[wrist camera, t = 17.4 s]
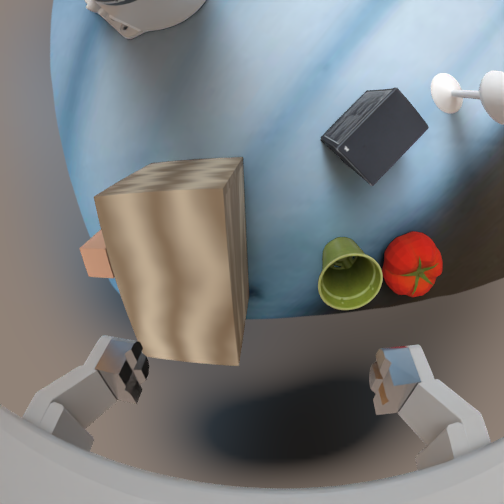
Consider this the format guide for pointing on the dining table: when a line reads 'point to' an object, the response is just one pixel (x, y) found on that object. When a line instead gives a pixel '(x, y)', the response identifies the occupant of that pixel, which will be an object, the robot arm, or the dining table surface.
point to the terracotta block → (97, 257)
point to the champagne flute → (470, 94)
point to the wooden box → (181, 257)
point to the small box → (375, 132)
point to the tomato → (411, 264)
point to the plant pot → (348, 275)
